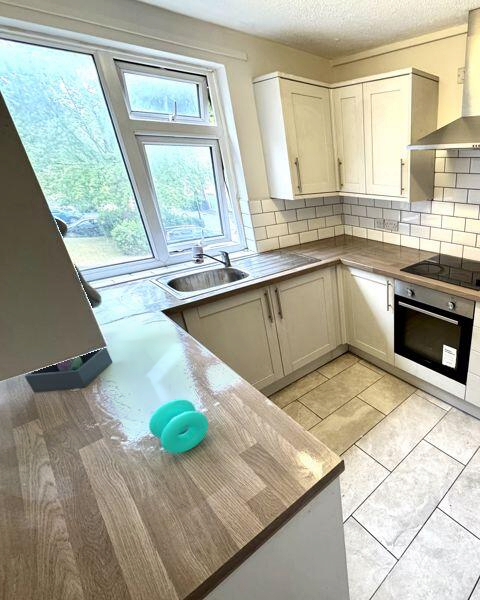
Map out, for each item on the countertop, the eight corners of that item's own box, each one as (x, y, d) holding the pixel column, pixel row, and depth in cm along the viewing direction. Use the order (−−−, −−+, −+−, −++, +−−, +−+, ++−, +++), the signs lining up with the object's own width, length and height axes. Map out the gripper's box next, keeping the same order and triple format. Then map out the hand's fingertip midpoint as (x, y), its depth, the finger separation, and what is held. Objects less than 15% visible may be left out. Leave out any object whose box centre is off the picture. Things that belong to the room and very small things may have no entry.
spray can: (63, 381, 101) (34, 324, 93) (62, 373, 105) (34, 318, 97) (87, 373, 105) (61, 317, 97) (84, 366, 108) (59, 312, 100)
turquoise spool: (170, 464, 76) (157, 432, 72) (154, 443, 81) (141, 412, 77) (214, 437, 83) (205, 406, 79) (196, 419, 89) (187, 390, 84)
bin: (33, 392, 98) (24, 376, 96) (67, 366, 110) (59, 350, 108) (85, 387, 100) (77, 371, 98) (112, 362, 112) (106, 347, 110)
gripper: (35, 312, 106) (14, 334, 93) (93, 303, 112) (80, 322, 99) (45, 332, 109) (26, 356, 96) (101, 322, 115) (89, 343, 102)
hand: (54, 339), depth 98 cm, fingers open, 8 cm apart
